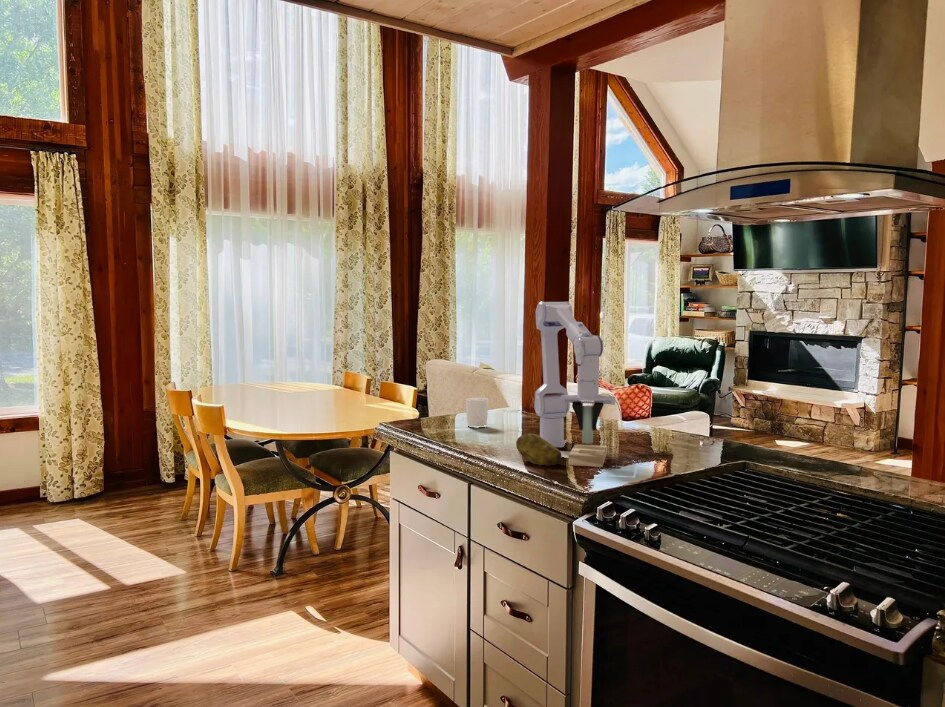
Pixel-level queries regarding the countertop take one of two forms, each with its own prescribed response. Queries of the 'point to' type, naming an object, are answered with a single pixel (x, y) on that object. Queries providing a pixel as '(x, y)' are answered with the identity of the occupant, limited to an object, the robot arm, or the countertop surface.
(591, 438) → the peg
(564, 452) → the mat
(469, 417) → the white cup
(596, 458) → the socket block
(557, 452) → the potato
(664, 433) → the countertop surface
